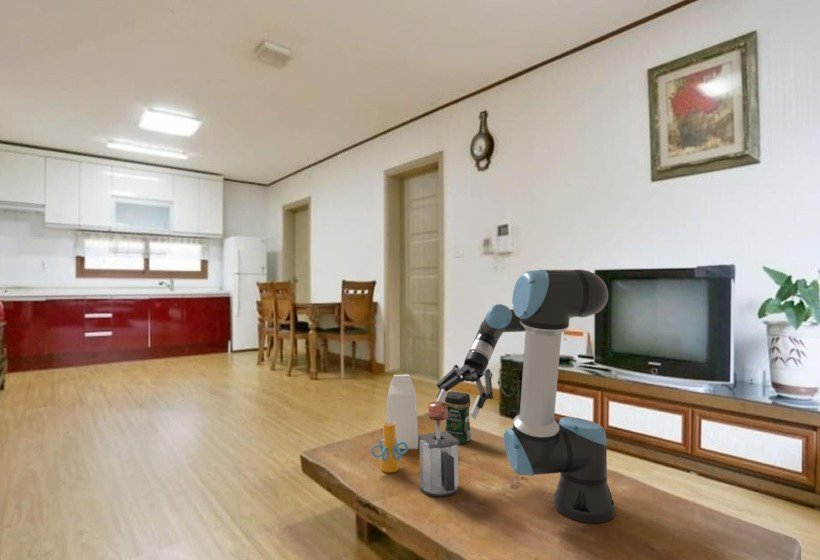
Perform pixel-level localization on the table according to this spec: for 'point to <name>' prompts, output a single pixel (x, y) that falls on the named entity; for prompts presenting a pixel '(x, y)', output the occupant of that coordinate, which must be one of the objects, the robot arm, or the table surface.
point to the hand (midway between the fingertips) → (454, 412)
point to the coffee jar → (458, 416)
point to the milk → (403, 410)
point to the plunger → (438, 415)
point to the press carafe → (438, 465)
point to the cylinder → (389, 449)
